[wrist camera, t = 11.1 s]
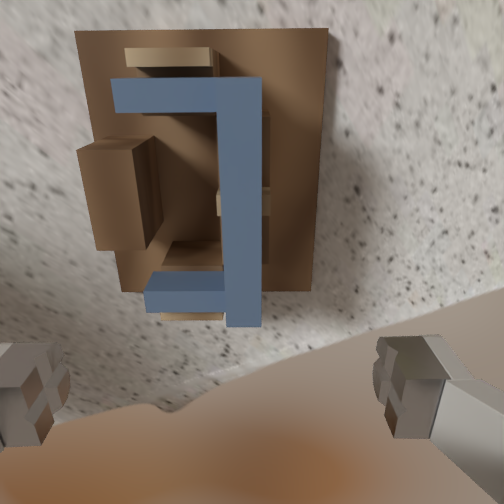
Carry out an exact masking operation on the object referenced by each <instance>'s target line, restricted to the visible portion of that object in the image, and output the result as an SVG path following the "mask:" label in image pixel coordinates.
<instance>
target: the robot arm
mask: <svg viewBox="0 0 504 504" xmlns="http://www.w3.org/2000/svg"><path fill="white" fill-rule="evenodd" d="M376 351H377V353H378V355H379V357H380V358H379V359H378V360H377V361H376V362H375V363H374V366H373V385H374V390H375V393H376V396H377V398H378V401H379V402H381V403H382V404H383V405H384V406H386V408H385V414H384V416H385V418H386V421H387V423H388V426H389V428H390V430H391V433H392V435H393V438H408V439H409V438H410V439H412V438H413V439H418V438H419V439H430V441H431V442H432V443H433V444H434V445H435V446H436V447H437V448H438V449H440V450H441V451H442V452H443V453H444V454H445V455H446V456H447V457H448V458H449V459H450V460H451V461H453V462H454V463H455V464H456V465H457V466H458V467H459V468H460V469H461V470H462V471H463V472H464V473H466V474H467V475H468V476H469V477H470V478H471V479H472V480H473V481H474V482H475V483H476V484H478V485H479V486H480V487H481V488H482V489H483V490H484V491H485V492H486V493H487V494H488V495H490V496H491V497H492V498H493V499H494V500H495V501H496V502H497V503H498V504H504V392H503V391H502V390H500V389H498V388H497V387H495V386H493V385H491V384H489V383H487V382H486V381H484V380H482V379H475V378H474V377H473V375H472V374H471V373H470V372H469V370H468V369H467V368H466V366H464V364H463V362H462V361H461V360H460V358H459V357H458V356H457V355H456V353H455V352H454V351H453V349H452V348H451V347H450V345H449V344H448V343H447V341H446V340H445V339H444V338H443V337H442V336H441V335H439V334H437V335H419V336H392V337H379V339H378V341H377V346H376ZM63 356H64V353H63V350H62V347H61V345H60V344H58V343H56V342H17V343H15V342H0V452H2V451H3V450H4V447H20V446H21V447H22V446H41V445H42V443H43V441H44V440H45V438H46V436H47V434H48V432H49V431H50V429H51V427H52V425H53V423H54V419H53V416H52V414H54V413H55V412H56V411H58V410H59V409H60V408H62V407H63V405H64V403H65V401H66V399H67V398H68V393H69V389H70V375H69V371H68V369H67V368H66V367H65V366H64V365H63V364H62V363H60V361H61V360H62V358H63Z"/></svg>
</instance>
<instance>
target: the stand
mask: <svg viewBox="0 0 504 504" xmlns="http://www.w3.org/2000/svg"><path fill="white" fill-rule="evenodd" d="M328 29H329V28H291V29H199V30H108V31H74V33H75V38H76V44H77V49H78V55H79V60H80V66H81V71H82V76H83V82H84V87H85V93H86V98H87V104H88V109H89V115H90V120H91V126H92V131H93V137H94V142H93V143H91V144H89V145H87V146H84V147H82V148H80V149H78V150H76V151H77V156H78V161H79V166H80V171H81V176H82V181H83V186H84V191H85V195H86V200H87V205H88V210H89V215H90V220H91V225H92V230H93V235H94V239H95V244H96V249H97V251H114V252H115V257H116V263H117V268H118V274H119V279H120V285H121V290H122V292H143V291H144V289H145V287H146V285H147V283H148V281H149V279H150V277H151V275H152V273H153V271H224V262H223V240H222V219H221V197H220V175H219V154H218V132H217V112H173V113H116V112H115V106H114V99H113V93H112V86H111V80H110V79H114V78H158V77H259V76H261V77H262V275H261V291H311V282H312V267H313V252H314V237H315V222H316V207H317V193H318V178H319V163H320V148H321V133H322V118H323V104H324V89H325V74H326V59H327V44H328ZM160 315H161V320H223V315H224V312H165V313H160Z"/></svg>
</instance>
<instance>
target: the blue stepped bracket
mask: <svg viewBox="0 0 504 504" xmlns="http://www.w3.org/2000/svg"><path fill="white" fill-rule="evenodd" d="M110 80H111V86H112V93H113V99H114V106H115V112H116V113H173V112H217V132H218V154H219V175H220V197H221V219H222V240H223V262H224V271H153V273H152V275H151V277H150V279H149V281H148V283H147V285H146V287H145V289H144V291H143V294H144V300H145V307H146V313H165V312H226V326H227V327H261V275H262V77H261V76H259V77H158V78H114V79H110Z"/></svg>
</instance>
